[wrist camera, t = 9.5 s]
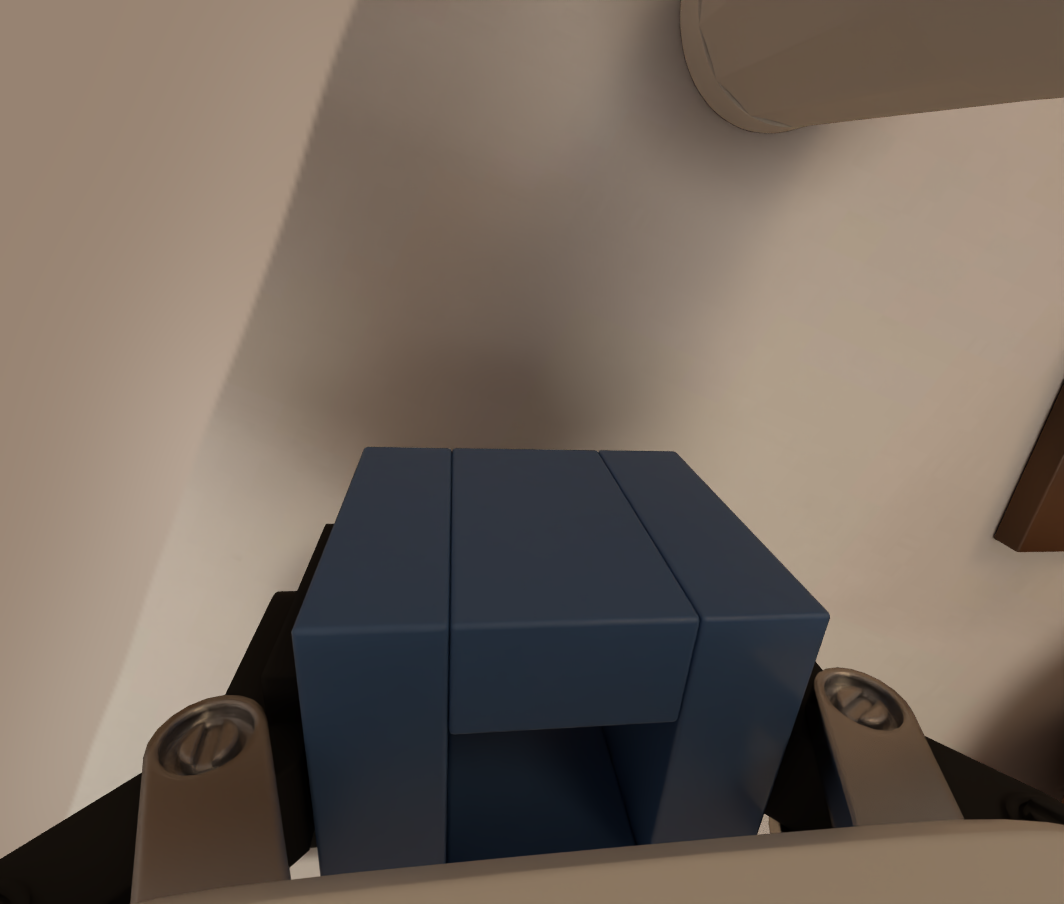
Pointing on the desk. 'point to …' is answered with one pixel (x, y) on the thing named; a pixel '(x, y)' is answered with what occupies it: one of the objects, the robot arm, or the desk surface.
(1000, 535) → the dowel stand
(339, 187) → the desk surface
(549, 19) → the desk surface
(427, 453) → the collar block
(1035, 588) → the desk surface
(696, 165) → the desk surface
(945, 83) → the cup
